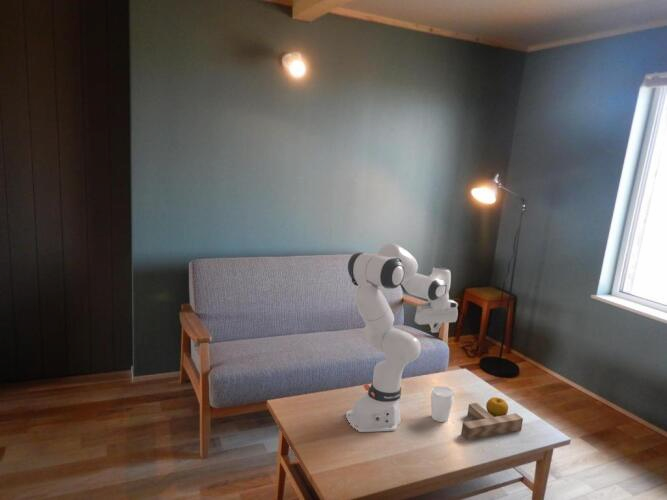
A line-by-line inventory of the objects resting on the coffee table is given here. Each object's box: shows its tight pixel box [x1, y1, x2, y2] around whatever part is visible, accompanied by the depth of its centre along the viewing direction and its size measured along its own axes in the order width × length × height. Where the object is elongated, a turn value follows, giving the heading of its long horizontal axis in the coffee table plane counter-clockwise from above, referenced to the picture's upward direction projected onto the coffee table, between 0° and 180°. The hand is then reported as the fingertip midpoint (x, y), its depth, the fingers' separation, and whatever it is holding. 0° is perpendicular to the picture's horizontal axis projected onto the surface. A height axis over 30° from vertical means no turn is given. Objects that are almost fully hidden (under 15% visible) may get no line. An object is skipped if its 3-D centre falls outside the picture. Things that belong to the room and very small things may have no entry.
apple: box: [485, 396, 509, 417], centre depth 191 cm, size 8×8×9 cm
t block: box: [460, 402, 524, 441], centre depth 186 cm, size 26×15×5 cm, turn 110°
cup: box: [430, 385, 455, 423], centre depth 188 cm, size 9×9×12 cm
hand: (434, 332), depth 205 cm, fingers closed
